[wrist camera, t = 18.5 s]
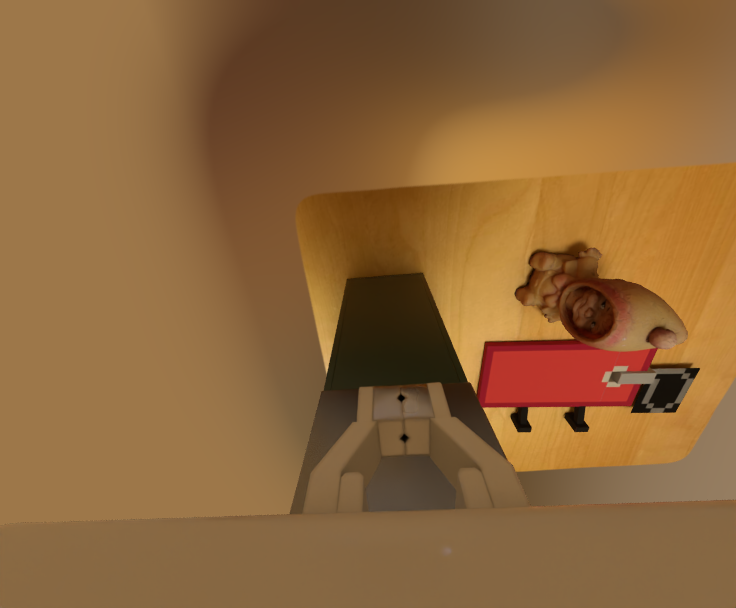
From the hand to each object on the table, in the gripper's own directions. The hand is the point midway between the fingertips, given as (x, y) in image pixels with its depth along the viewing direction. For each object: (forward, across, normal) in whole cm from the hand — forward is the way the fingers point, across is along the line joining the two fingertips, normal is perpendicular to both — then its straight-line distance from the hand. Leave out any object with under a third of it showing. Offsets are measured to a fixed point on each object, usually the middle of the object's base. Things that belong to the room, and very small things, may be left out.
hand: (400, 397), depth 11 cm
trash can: (+26, 0, +10) cm, 28 cm away
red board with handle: (+26, -28, +25) cm, 45 cm away
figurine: (+26, -21, +8) cm, 35 cm away
